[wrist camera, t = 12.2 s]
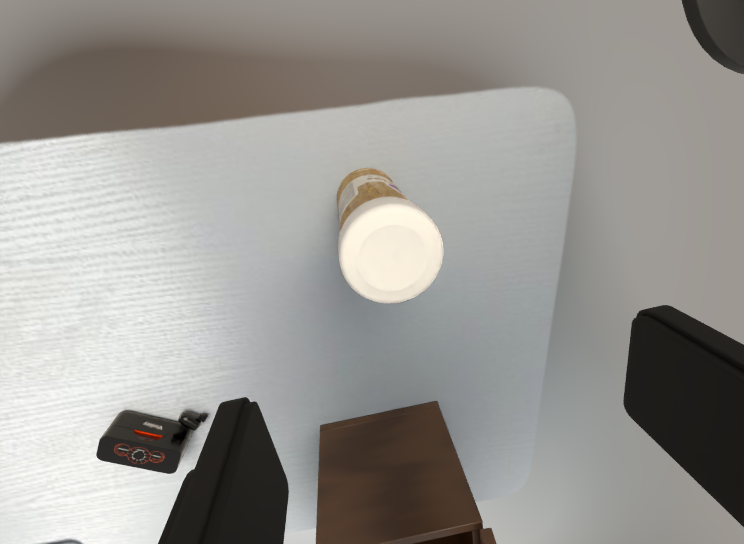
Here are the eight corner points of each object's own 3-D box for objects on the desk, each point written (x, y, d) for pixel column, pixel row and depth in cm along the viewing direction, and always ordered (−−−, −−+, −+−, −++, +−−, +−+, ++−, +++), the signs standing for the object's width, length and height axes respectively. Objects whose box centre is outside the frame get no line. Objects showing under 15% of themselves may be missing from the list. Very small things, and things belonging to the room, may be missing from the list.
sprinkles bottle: (406, 184, 28) (467, 234, 15) (378, 236, 29) (413, 322, 17) (352, 155, 27) (370, 184, 14) (325, 211, 28) (320, 283, 16)
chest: (343, 504, 40) (348, 646, 29) (319, 425, 36) (314, 558, 25) (447, 482, 41) (490, 614, 30) (437, 400, 36) (482, 521, 25)
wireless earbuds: (197, 446, 35) (184, 476, 32) (116, 429, 33) (95, 459, 30) (209, 410, 34) (197, 438, 31) (125, 389, 32) (104, 417, 29)
